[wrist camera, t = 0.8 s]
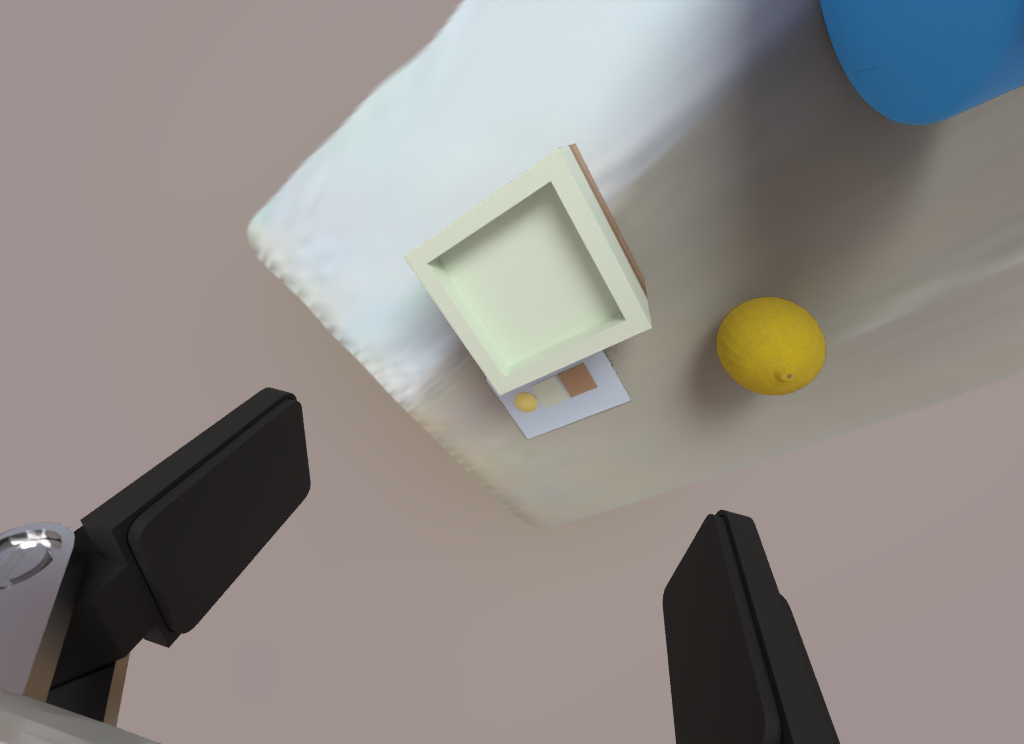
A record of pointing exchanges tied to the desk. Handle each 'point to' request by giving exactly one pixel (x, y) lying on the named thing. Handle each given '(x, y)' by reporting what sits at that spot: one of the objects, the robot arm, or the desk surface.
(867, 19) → the alarm clock
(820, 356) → the lemon
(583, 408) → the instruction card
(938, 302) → the desk surface
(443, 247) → the top brick
